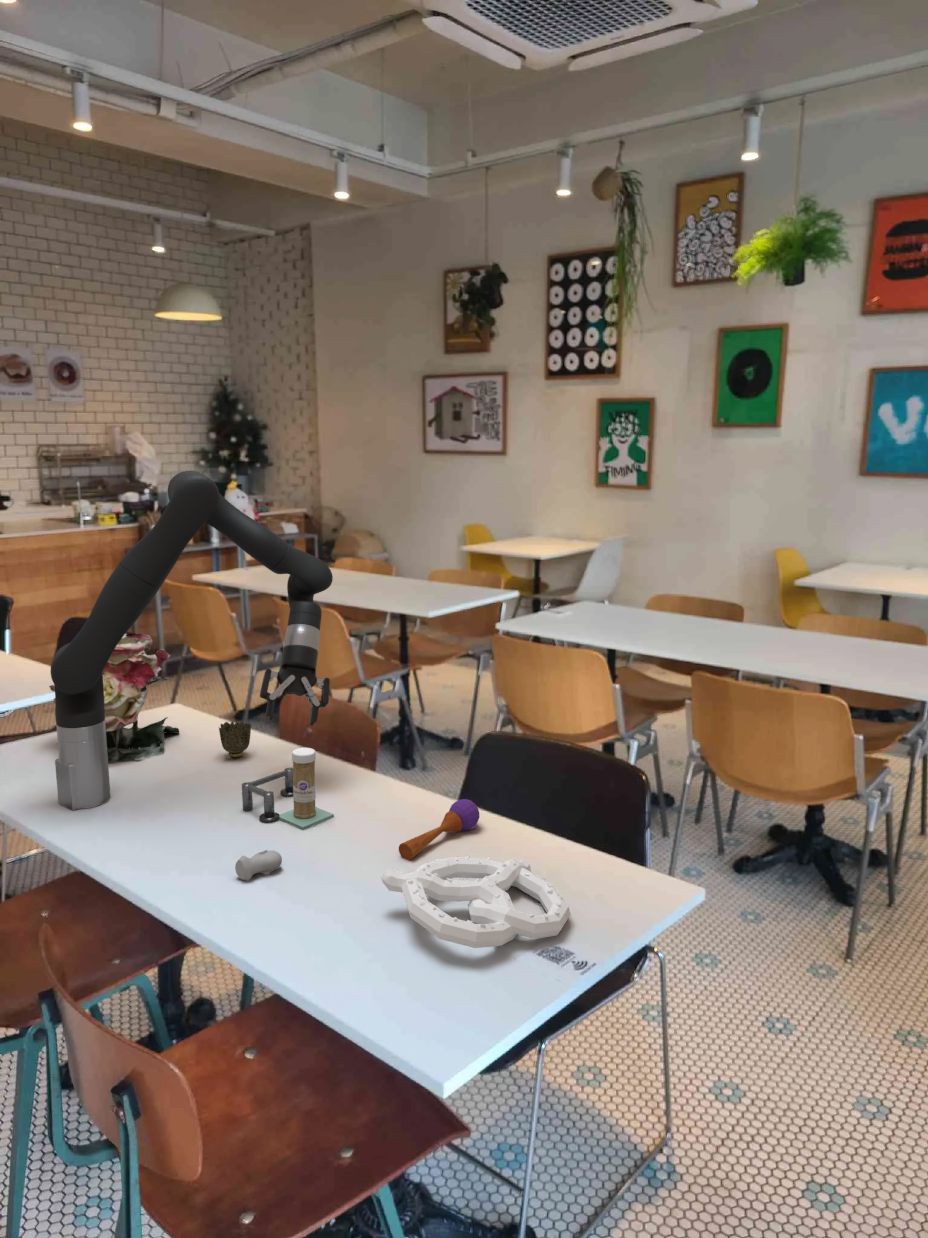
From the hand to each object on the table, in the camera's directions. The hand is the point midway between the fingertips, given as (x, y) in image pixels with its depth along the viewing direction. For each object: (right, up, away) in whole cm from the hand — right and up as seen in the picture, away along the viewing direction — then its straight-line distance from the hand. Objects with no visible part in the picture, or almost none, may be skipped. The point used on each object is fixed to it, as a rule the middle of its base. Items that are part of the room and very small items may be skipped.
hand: (291, 722), depth 184 cm
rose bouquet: (-48, -11, +29) cm, 57 cm away
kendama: (+32, -21, -17) cm, 42 cm away
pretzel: (+39, -26, -44) cm, 64 cm away
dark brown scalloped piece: (-18, -12, +25) cm, 33 cm away
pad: (+5, -18, -8) cm, 21 cm away
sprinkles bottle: (+4, -18, -8) cm, 20 cm away
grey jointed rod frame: (-2, -17, -3) cm, 18 cm away
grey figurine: (0, -23, -31) cm, 38 cm away
